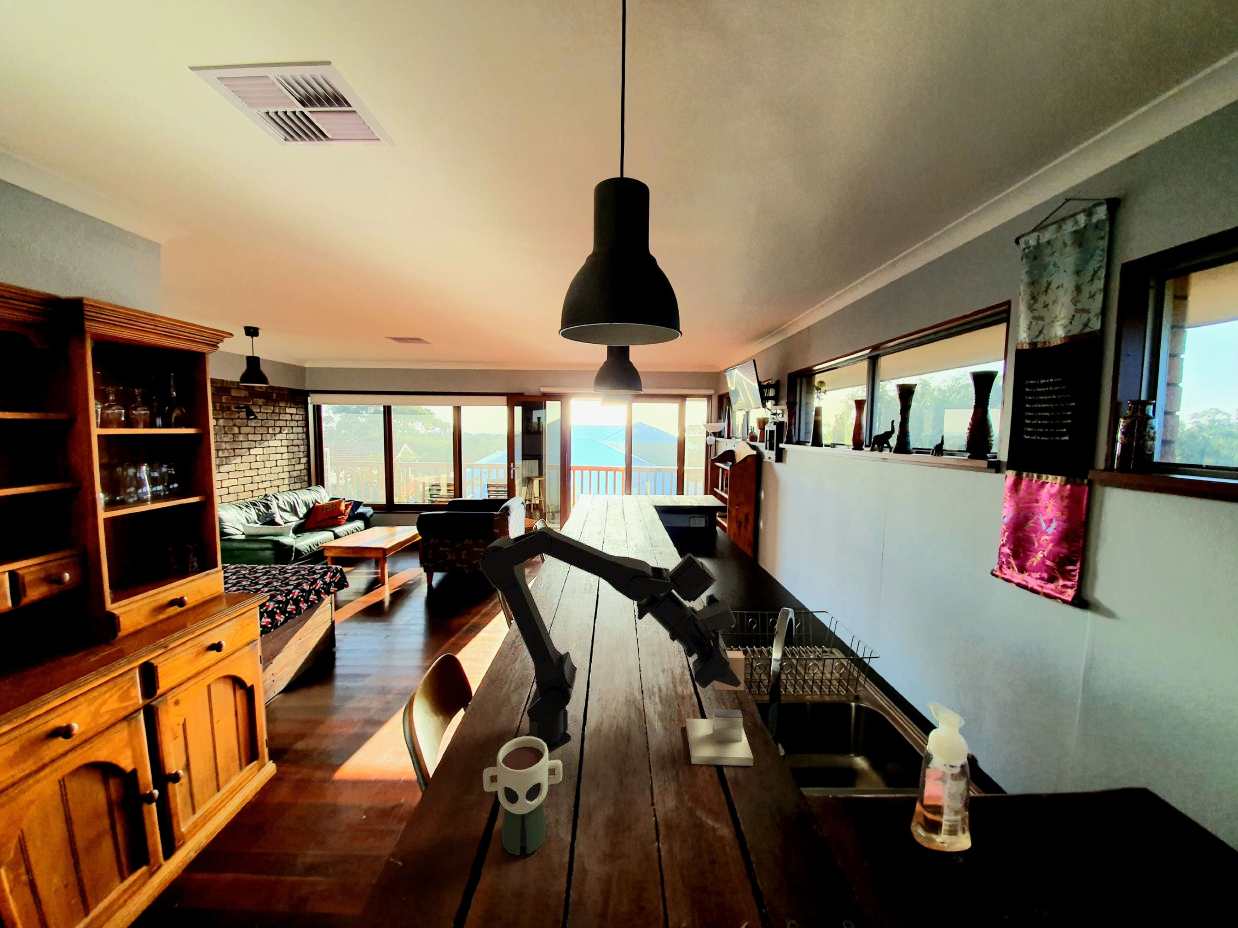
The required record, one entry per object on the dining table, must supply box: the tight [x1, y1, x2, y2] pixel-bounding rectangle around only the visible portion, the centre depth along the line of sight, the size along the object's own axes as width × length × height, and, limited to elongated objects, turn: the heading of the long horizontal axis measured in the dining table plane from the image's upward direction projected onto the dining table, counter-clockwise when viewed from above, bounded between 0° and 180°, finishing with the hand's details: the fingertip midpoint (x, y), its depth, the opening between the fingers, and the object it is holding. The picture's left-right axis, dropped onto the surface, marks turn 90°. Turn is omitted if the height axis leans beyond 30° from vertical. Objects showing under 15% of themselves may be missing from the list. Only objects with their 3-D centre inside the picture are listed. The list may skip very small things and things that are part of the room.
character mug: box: [482, 735, 563, 856], centre depth 65 cm, size 11×7×13 cm, turn 99°
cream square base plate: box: [685, 708, 754, 767], centre depth 84 cm, size 10×10×6 cm
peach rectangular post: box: [712, 650, 745, 691], centre depth 83 cm, size 5×2×6 cm, turn 88°
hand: (736, 677), depth 83 cm, fingers open, 5 cm apart
